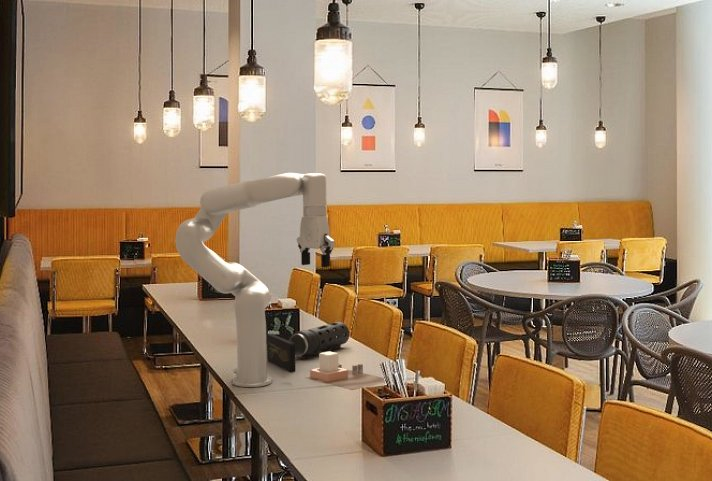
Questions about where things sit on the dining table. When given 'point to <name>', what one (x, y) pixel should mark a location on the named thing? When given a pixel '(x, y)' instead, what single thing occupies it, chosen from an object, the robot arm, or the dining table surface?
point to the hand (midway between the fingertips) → (315, 265)
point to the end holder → (329, 374)
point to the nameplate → (281, 352)
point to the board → (354, 379)
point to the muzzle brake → (320, 339)
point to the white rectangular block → (328, 362)
